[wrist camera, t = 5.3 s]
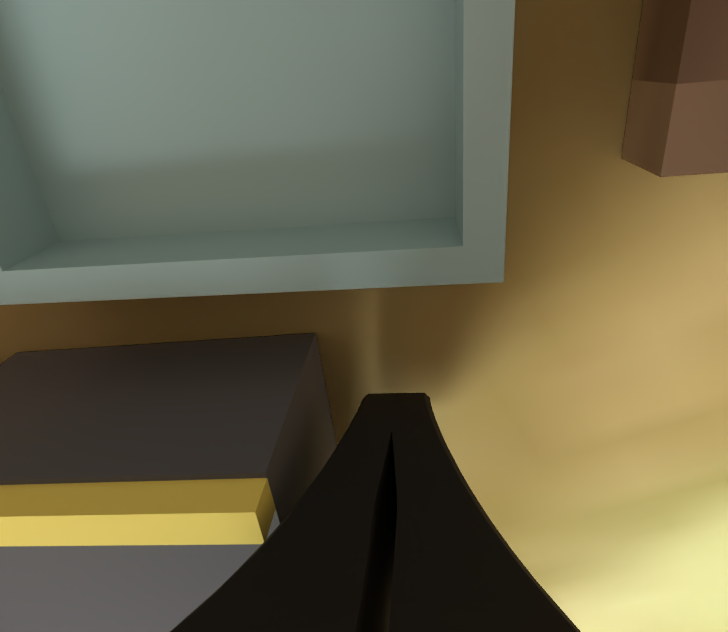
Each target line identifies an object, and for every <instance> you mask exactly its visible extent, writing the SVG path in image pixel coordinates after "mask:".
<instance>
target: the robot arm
mask: <svg viewBox="0 0 728 632" xmlns="http://www.w3.org/2000/svg"><path fill="white" fill-rule="evenodd" d="M170 632H580V630H579V629H578V628H577V627H576V626H575V625H574V623H573V622H572V621H571V620H570V619H569V618H568V617H567V615H566V614H565V613H564V612H563V611H562V610H561V609H560V607H559V606H558V605H557V604H556V603H555V602H554V601H553V599H552V598H551V597H550V596H549V595H548V594H547V593H546V591H545V590H544V589H543V588H542V587H541V586H540V585H539V583H538V582H537V581H536V580H535V579H534V577H533V576H532V575H531V574H530V572H529V571H528V570H527V569H526V567H525V566H524V565H523V563H522V562H521V561H520V560H519V558H518V557H517V556H516V555H515V553H514V552H513V551H512V549H511V548H510V547H509V545H508V544H507V543H506V541H505V540H504V538H503V537H502V536H501V534H500V533H499V532H498V530H497V529H496V527H495V526H494V524H493V523H492V522H491V520H490V519H489V517H488V516H487V514H486V513H485V511H484V510H483V508H482V507H481V505H480V503H479V502H478V500H477V499H476V497H475V495H474V494H473V492H472V490H471V489H470V487H469V486H468V484H467V482H466V480H465V479H464V477H463V475H462V473H461V472H460V470H459V468H458V466H457V464H456V462H455V460H454V458H453V456H452V455H451V453H450V451H449V449H448V447H447V445H446V443H445V441H444V438H443V436H442V434H441V431H440V429H439V427H438V424H437V422H436V419H435V416H434V413H433V410H432V406H431V402H430V397H429V396H427V395H426V394H425V393H384V394H367V395H366V396H365V397H364V398H363V400H362V402H361V404H360V407H359V409H358V411H357V413H356V414H355V416H354V418H353V420H352V422H351V424H350V426H349V427H348V429H347V431H346V432H345V434H344V436H343V438H342V439H341V441H340V442H339V444H338V445H337V447H336V449H335V450H334V452H333V453H332V455H331V456H330V458H329V459H328V461H327V463H326V464H325V466H324V467H323V469H322V470H321V471H320V473H319V474H318V475H317V477H316V478H315V480H314V481H313V482H312V484H311V485H310V486H309V488H308V489H307V490H306V492H305V493H304V495H303V496H302V497H301V499H300V500H299V501H298V502H297V504H296V505H295V506H294V507H293V509H292V510H291V511H290V512H289V514H288V515H287V516H286V517H285V518H284V520H283V521H282V522H281V523H280V524H279V526H278V527H277V528H276V529H275V530H274V531H273V532H272V533H271V535H270V536H269V537H268V538H267V539H266V540H265V541H264V543H263V544H262V545H261V546H260V547H259V548H258V549H257V550H256V551H255V552H254V553H253V554H252V555H251V556H250V557H249V558H248V559H247V560H246V561H245V562H244V563H243V564H242V565H241V566H240V568H239V569H238V570H237V571H236V572H235V573H234V574H233V575H232V576H231V577H230V578H229V579H228V580H227V581H226V582H225V583H223V584H222V585H221V586H220V587H219V588H218V589H217V590H216V591H215V592H214V593H213V594H212V595H211V596H210V597H209V598H207V599H206V600H205V601H204V602H203V603H202V604H201V605H199V606H198V607H197V608H196V609H195V610H194V611H193V612H192V613H190V614H189V615H188V616H187V617H186V618H185V619H184V620H182V621H181V622H180V623H179V624H178V625H177V626H176V627H175V628H173V629H172V630H171V631H170Z"/></svg>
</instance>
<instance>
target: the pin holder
mask: <svg viewBox="0 0 728 632" xmlns="http://www.w3.org/2000/svg"><path fill="white" fill-rule="evenodd" d="M621 158H622V159H624V160H626V161H628V162H630V163H632V164H634V165H636V166H639V167H641V168H643V169H645V170H647V171H649V172H651V173H653V174H655V175H657V176H660V177H666V176H681V175H696V174H711V173H726V172H728V0H643V6H642V13H641V20H640V28H639V35H638V42H637V49H636V56H635V64H634V71H633V78H632V85H631V92H630V100H629V107H628V114H627V121H626V129H625V136H624V143H623V150H622V157H621Z"/></svg>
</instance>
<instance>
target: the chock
mask: <svg viewBox="0 0 728 632" xmlns="http://www.w3.org/2000/svg"><path fill="white" fill-rule="evenodd" d="M336 447H337V445H336V439H335V434H334V429H333V423H332V418H331V413H330V408H329V402H328V397H327V392H326V386H325V381H324V376H323V370H322V365H321V360H320V354H319V349H318V344H317V338H316V333H309V334H294V335H279V336H264V337H248V338H233V339H218V340H203V341H188V342H172V343H157V344H142V345H127V346H112V347H96V348H81V349H66V350H51V351H36V352H20V353H15V354H14V355H13V356H11V357H10V358H9V359H7V360H6V361H5V362H3V363H2V364H0V632H170V631H171V630H172V629H173V628H175V627H176V626H177V625H178V624H179V623H180V622H181V621H182V620H184V619H185V618H186V617H187V616H188V615H189V614H190V613H192V612H193V611H194V610H195V609H196V608H197V607H198V606H199V605H201V604H202V603H203V602H204V601H205V600H206V599H207V598H209V597H210V596H211V595H212V594H213V593H214V592H215V591H216V590H217V589H218V588H219V587H220V586H221V585H222V584H223V583H225V582H226V581H227V580H228V579H229V578H230V577H231V576H232V575H233V574H234V573H235V572H236V571H237V570H238V569H239V568H240V566H241V565H242V564H243V563H244V562H245V561H246V560H247V559H248V558H249V557H250V556H251V555H252V554H253V553H254V552H255V551H256V550H257V549H258V548H259V547H260V546H261V545H262V544H263V543H264V541H265V540H266V539H267V538H268V537H269V536H270V535H271V533H272V532H273V531H274V530H275V529H276V528H277V527H278V526H279V524H280V523H281V522H282V521H283V520H284V518H285V517H286V516H287V515H288V514H289V512H290V511H291V510H292V509H293V507H294V506H295V505H296V504H297V502H298V501H299V500H300V499H301V497H302V496H303V495H304V493H305V492H306V490H307V489H308V488H309V486H310V485H311V484H312V482H313V481H314V480H315V478H316V477H317V475H318V474H319V473H320V471H321V470H322V469H323V467H324V466H325V464H326V463H327V461H328V459H329V458H330V456H331V455H332V453H333V452H334V450H335V449H336Z"/></svg>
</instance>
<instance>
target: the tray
mask: <svg viewBox="0 0 728 632" xmlns="http://www.w3.org/2000/svg"><path fill="white" fill-rule="evenodd" d="M514 20H515V0H0V305H13V304H35V303H57V302H79V301H101V300H123V299H145V298H167V297H189V296H212V295H234V294H256V293H278V292H300V291H322V290H344V289H366V288H388V287H410V286H432V285H454V284H476V283H498V282H504V264H505V239H506V215H507V191H508V166H509V142H510V118H511V93H512V69H513V45H514Z"/></svg>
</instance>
